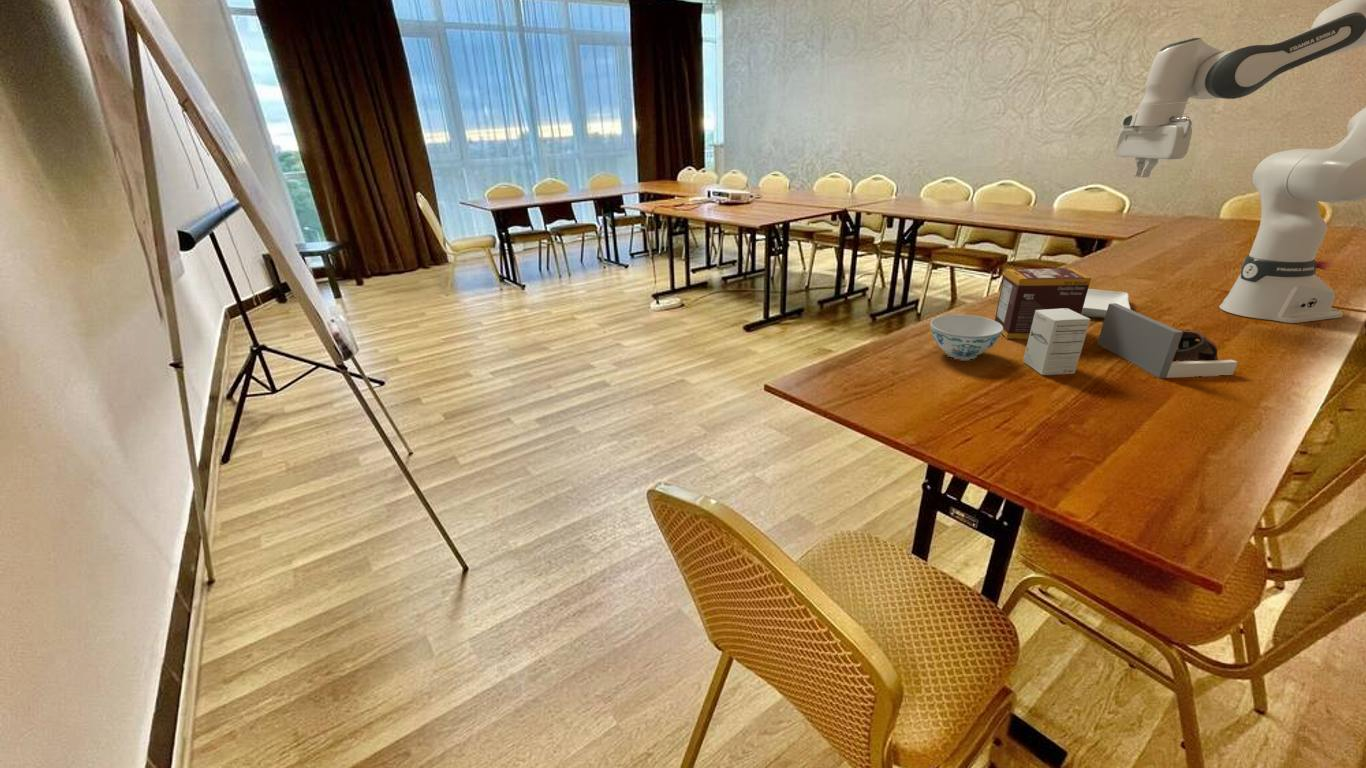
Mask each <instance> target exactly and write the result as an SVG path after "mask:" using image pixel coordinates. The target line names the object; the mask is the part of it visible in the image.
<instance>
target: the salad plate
mask: <svg viewBox="0 0 1366 768" xmlns="http://www.w3.org/2000/svg"><path fill="white" fill-rule="evenodd" d="M1129 298H1130V297H1129V293H1128V292H1124V291H1114V290H1113V291H1112V290H1103V289H1095V288H1094V289H1093V288H1088V291H1087V295H1086V298H1085V302H1084V306H1083V309H1082V312H1081V315H1083V316H1085V317H1088V318H1089V317H1091V318H1103V319H1105V316H1106V312H1107V309H1108V305H1109V304H1112V303H1116V304H1119V305H1121V306H1123V307H1126V308H1128V309H1130V310H1132V309H1131V305H1130V302H1129Z"/></svg>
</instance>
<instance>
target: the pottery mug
mask: <svg viewBox="0 0 1366 768" xmlns="http://www.w3.org/2000/svg"><path fill="white" fill-rule="evenodd" d="M1181 331H1182V332H1183V334H1182V337H1181V339H1180V342H1179V345H1178V347H1177V350H1176V353H1175V356H1174V358H1173V361H1172V362H1182V361H1211V360H1219V357H1218V346H1217V345H1216V344H1215V342H1214V341H1213V340H1211V339H1210V338H1208V337H1206V335H1205V334H1204V333H1202V332H1200V331H1197V330H1192V329H1187V328H1186V329H1183V330H1181ZM1198 359H1199V360H1198Z"/></svg>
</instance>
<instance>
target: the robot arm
mask: <svg viewBox="0 0 1366 768" xmlns="http://www.w3.org/2000/svg"><path fill="white" fill-rule="evenodd" d="M1363 46H1366V0H1340V1H1338V2H1335V3H1334V4H1332V5H1331V6H1329V7H1327V8H1325V9H1324V10H1322V11H1321V12H1320V13H1319V14H1318V15H1317V16H1316V18H1315V19H1314V20H1313V23H1312V25H1311V27H1310V28H1309V29H1308V30H1305V31H1303V32H1300V33H1297V34H1296V35H1293V36H1291V37H1288V38H1286V39H1283V40H1281V41H1278V42H1276V43H1273V44H1255V45H1254V44H1253V45H1250V46H1249V45H1248V46H1245V47H1240V48H1237V49H1232V50H1228V51H1225V50H1223V49H1218V48H1216V47H1213V46H1211V45H1210V44H1208V43H1206V42H1205V41H1204V40H1203V38H1200V37H1192V38H1189V39H1186V40H1181V41H1177V42H1174V43H1169V44H1167V45H1164V46H1162V48H1161V49H1159V50H1158V52H1157V53H1156V55H1155V56H1154V59H1153V61H1152V64H1151V66H1150V68H1149V72H1148V75H1147V78H1146V81H1145V85H1144V96H1143V98H1142V99H1141V102H1140V103H1139V106H1138V110H1135V111H1134V112H1133V113H1131V114H1128V115H1127V116H1125V117H1123V118H1122V119H1121V122H1120V126H1121V127H1122V128H1121V129H1120V130H1119V133H1118V135H1117V140H1116V143H1115V148H1114V155H1115V156H1116V157H1118V158H1119V157H1120V158H1132V159H1133V158H1135V159H1134V168H1135V170H1134V171H1135V172H1134V174H1133V176H1134V177H1136V178H1149V177H1150V175H1151V172H1152V171H1153V169H1154V168H1155V166H1157V164H1158V163H1159V160H1181V159H1183V158H1185V156H1186V155H1187V154H1188V152H1189V148H1190V143H1191V139H1192V134H1193V128H1192V126H1193V125H1192V124H1193V122H1192V121H1191V118H1190V117H1189V116H1187V115H1185V116H1184V114H1185V113H1184V112H1185V109H1186V107H1187V104H1188V101H1189V99H1190V98H1192V99H1195V100H1211V99H1215V100H1216V99H1226V100H1235V99H1241V98H1244V97H1246V96H1249V95H1251V94H1253V93H1254V92H1256V91H1258V90H1259V89H1261V88H1262V87H1264V86H1265V85H1267V84H1268V83H1269V82H1270V81H1271V80H1272V79H1275V78H1276V77H1278V76H1279V75H1281V74H1284V73H1285V72H1287V71H1289V70H1292V69H1294V68H1297V67H1300V66H1302V65H1304V64H1307V63H1309V62H1313V61H1314V60H1316V59H1320V58H1322V57H1324V56H1331V55H1335V54H1340V53H1343V52H1348V51H1351V50H1355V49H1359V48H1361V47H1363ZM1346 127H1347V129H1346V133H1347V135H1346V136H1345V137H1344V138H1343V139H1342V140H1341V141H1340V142H1339V143H1337V144H1335V145H1334V146H1331V147H1328V148H1310V147H1309V148H1304V147H1301V148H1300V147H1299V148H1293V149H1287V150H1282V151H1277V152H1274V153H1271V154H1270V155H1268V156H1266V157H1265V158H1264V159H1262V160H1261V161H1260V162H1259V163H1258V164H1257V166H1256V168H1255V169H1254V171H1253V173H1252V178H1251V182H1252V184H1253V187H1254V188H1255V189H1256V190H1257V192H1258V194H1259V199H1260V208H1261V209H1260V211H1261V213H1260V214H1261V215H1260V224H1259V226H1258V230H1257V233H1256V236H1255V239H1254V241H1253V244H1252V246H1251V249H1250V252H1249V254H1247V255H1246V256H1245V257H1244V259H1243V262H1242V266H1241V271H1240V274H1239V276H1238V277H1237V278H1236V281H1235V282H1234V283H1233V285H1232V288H1231V289H1230V291H1229V292H1228V294H1227V296H1226V297H1225V298H1223V302H1222V303H1221V304H1220V305H1219V309H1221V310H1222V311H1225V312H1226V313H1230V314H1233V315H1237V316H1242V317H1245V318H1247V317H1248V318H1251V319H1252V318H1253V319H1258V320H1259V319H1260V320H1268V321H1269V320H1270V321H1275V322H1281V323H1286V324H1297V323H1305V322H1313V321H1321V320H1329V319H1330V320H1331V319H1339V318H1343V315H1344V313H1343V312H1342V311H1341V310H1338V309H1336V308H1333V307H1332V306H1333V304H1334V300H1335V298H1336V296H1335V295H1336V294H1335V291H1334V289H1333V288H1331V287H1330V286H1329V285H1328V284H1326V283H1325V282H1324V281H1323V280H1322V279H1321V278H1319V277H1318V276H1317V275H1316V273H1317V272H1316V271H1317V269H1319V270H1322V271H1326V270H1328V269H1329V268H1330V267H1331V266H1332V262H1331V261H1327V260H1326V261H1325V260H1322V259H1320V260H1318V261H1317V260H1315V258H1316V255H1317V253H1318V251H1319V248H1320V247H1321V244H1322V242H1323V240H1324V238H1325V235H1326V233H1327V231H1328V224H1327V222H1326V221H1325V220H1324V218H1323V217H1322V215H1321V214H1320V209H1319V202H1321V203H1322V202H1323V203H1343V202H1344V203H1346V202H1354V201H1360V200H1364V199H1366V106H1365V107H1364V108H1362V109H1361V110H1360V111H1358V112H1357V113H1355V115H1353V116H1352V117H1351V118H1349V121H1348V123H1347V126H1346Z"/></svg>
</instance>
